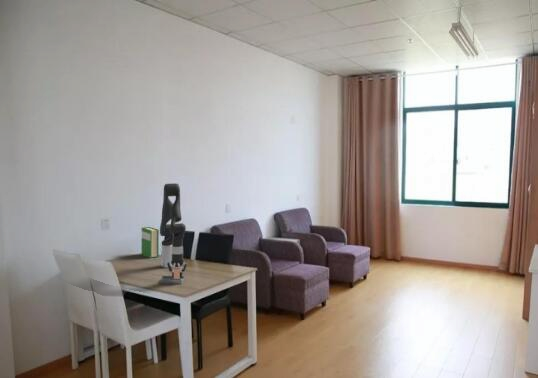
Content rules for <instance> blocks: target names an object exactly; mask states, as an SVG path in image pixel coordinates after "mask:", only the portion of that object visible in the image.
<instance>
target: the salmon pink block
mask: <svg viewBox="0 0 538 378" xmlns="http://www.w3.org/2000/svg"><path fill="white" fill-rule="evenodd" d="M174 279H180V269H179V268H178V267H176V268H175V269H174Z"/></svg>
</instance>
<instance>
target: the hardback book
mask: <svg viewBox="0 0 538 378" xmlns="http://www.w3.org/2000/svg"><path fill="white" fill-rule="evenodd" d="M159 235H160V229H158V228H154V227H151V226H147V227H146V226H144V227H141V256H144V257H146V258H148V257H149V259H152V258H159V251H160V250H159V249H160V248H159V238H160V237H159Z"/></svg>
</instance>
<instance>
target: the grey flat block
mask: <svg viewBox="0 0 538 378" xmlns="http://www.w3.org/2000/svg"><path fill="white" fill-rule="evenodd" d="M158 282H159V283H158V284H166V285H167V284H168V285H169V284H171V285H172V284H174V285H182V284H183V282H185V276H184V275H182V277H181V278H180V279H174V278H173V277H172V275H162V277H161V278H160V279H159V281H158Z"/></svg>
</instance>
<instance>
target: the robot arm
mask: <svg viewBox="0 0 538 378" xmlns="http://www.w3.org/2000/svg"><path fill="white" fill-rule="evenodd" d="M169 197H175V200H174V202H172V201H171V199H170V198H169ZM162 200H163V203H162V206H161V207H162V208H161V221H160V227H159V235H160V236H161V237H167V238H166V239H163V240H162V241H161V268H165V269H166V268H168V271H169V272H171V276H172V277H173V278H174V269H175V268H179V269H180V278H181V277H182V276H183V272H185V271H186V269H187V267H188V262H185V261H184V243H183V242H184V237H185V232H186V230H187V229H186V228H187V227H186V224H185V223H182V222H181V221H182V212H181V188H180V184H178V183H165V184H164V186H163V199H162ZM169 222H170V224H168V223H169ZM179 222H181V223H179ZM175 235H178V236H175Z"/></svg>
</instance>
